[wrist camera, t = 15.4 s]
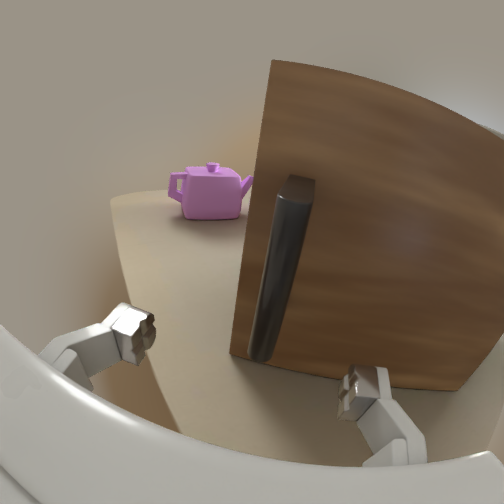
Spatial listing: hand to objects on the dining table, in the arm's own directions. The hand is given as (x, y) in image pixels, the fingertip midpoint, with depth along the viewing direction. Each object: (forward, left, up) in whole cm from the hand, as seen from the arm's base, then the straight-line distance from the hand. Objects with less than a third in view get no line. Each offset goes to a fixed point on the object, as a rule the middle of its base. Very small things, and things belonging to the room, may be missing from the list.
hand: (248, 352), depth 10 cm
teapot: (+43, -19, -12) cm, 49 cm away
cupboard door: (-3, -12, -12) cm, 17 cm away
